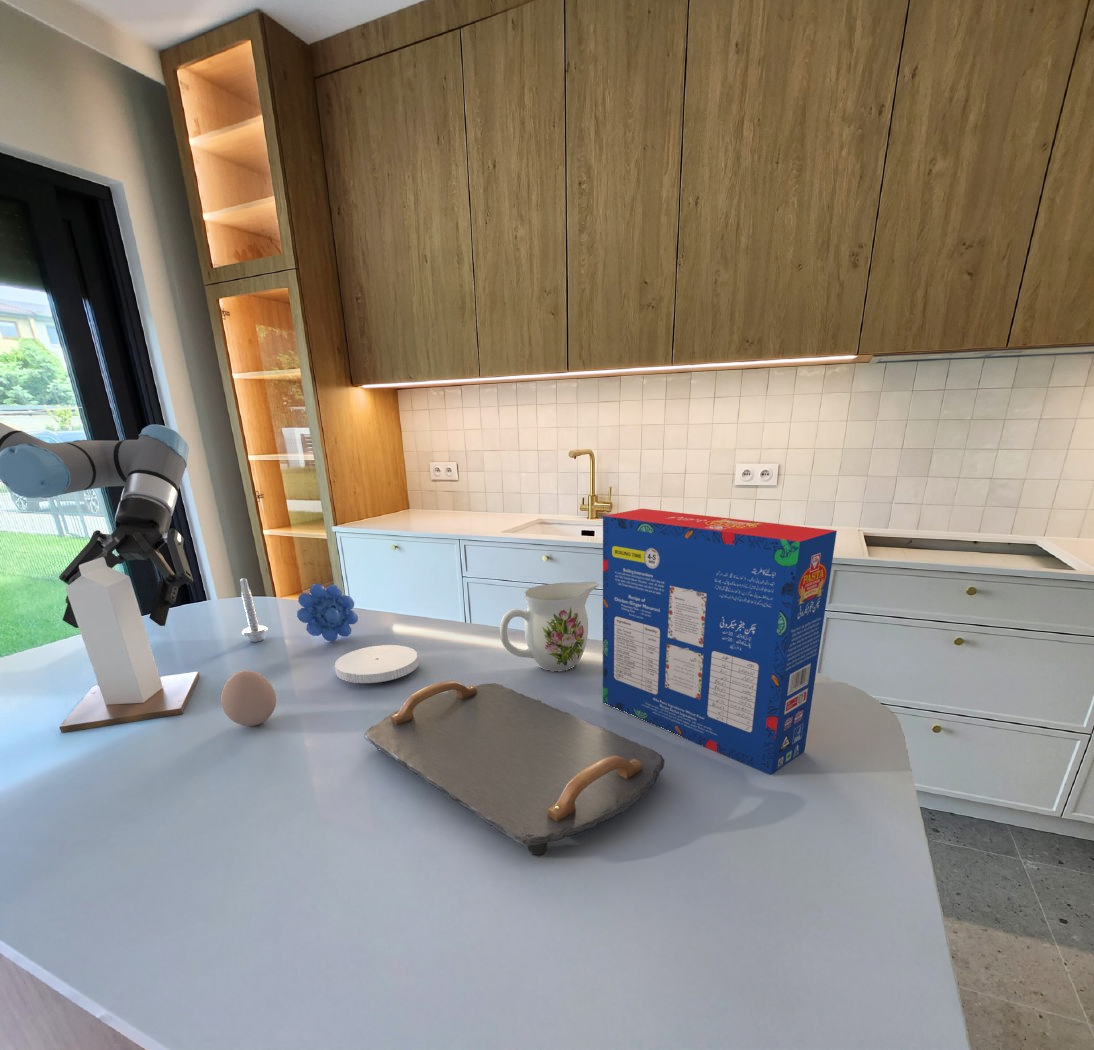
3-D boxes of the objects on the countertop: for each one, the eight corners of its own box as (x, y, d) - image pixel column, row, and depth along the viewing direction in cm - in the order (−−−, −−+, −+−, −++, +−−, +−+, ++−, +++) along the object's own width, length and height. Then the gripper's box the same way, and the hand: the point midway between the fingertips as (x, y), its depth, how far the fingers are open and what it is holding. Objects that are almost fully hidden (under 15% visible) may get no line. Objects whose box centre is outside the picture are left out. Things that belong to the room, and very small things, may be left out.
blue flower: (310, 653, 118) (299, 592, 114) (299, 644, 123) (287, 585, 119) (368, 639, 125) (359, 581, 120) (355, 631, 130) (346, 575, 125)
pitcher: (494, 662, 111) (488, 587, 106) (586, 647, 117) (585, 575, 111) (512, 685, 101) (507, 604, 96) (612, 667, 107) (612, 590, 102)
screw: (271, 635, 130) (267, 642, 125) (246, 637, 129) (241, 645, 124) (258, 573, 124) (253, 579, 120) (232, 575, 124) (226, 581, 119)
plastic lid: (348, 695, 100) (346, 681, 99) (328, 668, 111) (326, 655, 110) (430, 676, 106) (429, 662, 105) (404, 652, 117) (402, 639, 116)
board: (61, 732, 91) (58, 726, 91) (95, 691, 105) (93, 685, 105) (182, 714, 96) (180, 708, 95) (199, 676, 110) (198, 671, 109)
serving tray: (351, 744, 85) (344, 704, 82) (484, 692, 99) (481, 656, 97) (546, 883, 59) (544, 829, 56) (688, 784, 73) (691, 738, 71)
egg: (285, 726, 91) (273, 673, 87) (231, 740, 87) (217, 685, 84) (276, 708, 96) (264, 658, 93) (225, 721, 93) (211, 669, 90)
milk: (163, 688, 103) (125, 555, 94) (143, 703, 97) (100, 564, 89) (126, 689, 103) (84, 557, 94) (103, 705, 97) (57, 565, 89)
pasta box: (804, 751, 79) (836, 530, 68) (770, 775, 75) (799, 541, 64) (637, 688, 99) (642, 508, 88) (602, 703, 94) (602, 515, 83)
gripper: (231, 520, 107) (206, 631, 99) (90, 524, 108) (54, 635, 100) (207, 492, 100) (178, 609, 92) (56, 497, 101) (15, 613, 93)
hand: (114, 623), depth 96 cm, fingers open, 13 cm apart
